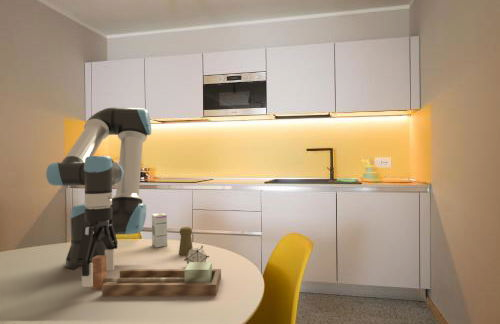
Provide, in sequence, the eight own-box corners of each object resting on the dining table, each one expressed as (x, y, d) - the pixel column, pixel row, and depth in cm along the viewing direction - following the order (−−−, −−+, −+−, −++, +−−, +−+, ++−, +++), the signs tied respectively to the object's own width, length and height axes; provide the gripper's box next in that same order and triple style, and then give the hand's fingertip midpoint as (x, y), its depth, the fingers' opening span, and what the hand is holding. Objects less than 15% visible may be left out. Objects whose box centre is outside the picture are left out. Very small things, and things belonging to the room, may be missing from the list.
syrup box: (167, 245, 145) (167, 214, 145) (155, 247, 142) (154, 215, 142) (164, 243, 150) (164, 212, 150) (151, 245, 147) (151, 213, 147)
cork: (179, 251, 135) (179, 226, 135) (194, 251, 136) (193, 225, 136) (177, 255, 129) (177, 228, 129) (192, 255, 130) (192, 228, 130)
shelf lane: (102, 299, 88) (102, 285, 88) (121, 281, 101) (121, 269, 101) (216, 299, 88) (216, 284, 88) (221, 281, 101) (220, 268, 101)
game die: (199, 281, 111) (202, 264, 105) (178, 271, 113) (180, 253, 107) (211, 262, 118) (214, 245, 112) (190, 253, 120) (193, 235, 114)
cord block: (88, 291, 91) (88, 260, 91) (100, 282, 98) (99, 253, 98) (208, 291, 91) (208, 259, 91) (212, 281, 98) (211, 252, 98)
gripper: (89, 213, 82) (90, 294, 82) (127, 201, 107) (128, 264, 107) (61, 213, 82) (61, 295, 82) (105, 201, 107) (106, 264, 107)
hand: (99, 277), depth 95 cm, fingers open, 13 cm apart
